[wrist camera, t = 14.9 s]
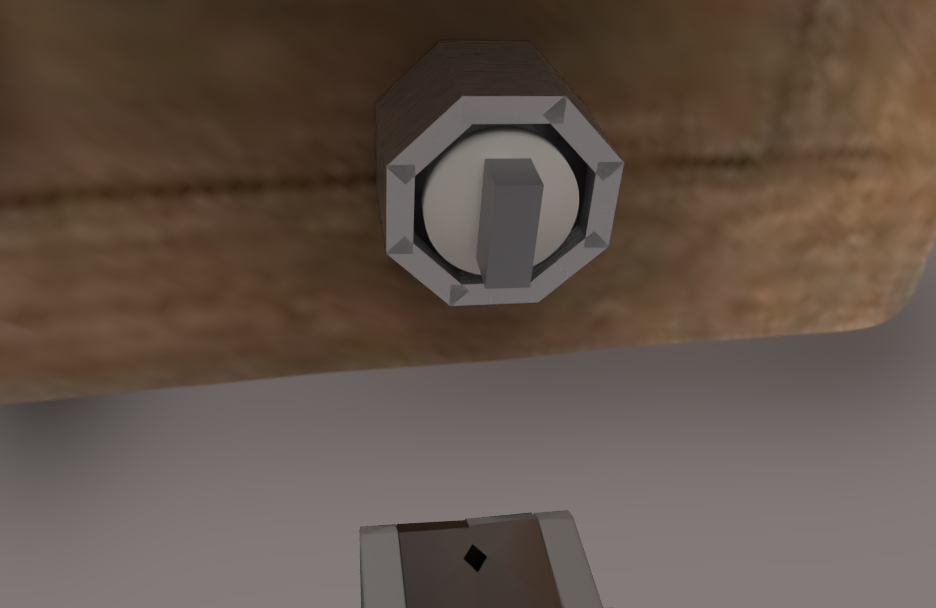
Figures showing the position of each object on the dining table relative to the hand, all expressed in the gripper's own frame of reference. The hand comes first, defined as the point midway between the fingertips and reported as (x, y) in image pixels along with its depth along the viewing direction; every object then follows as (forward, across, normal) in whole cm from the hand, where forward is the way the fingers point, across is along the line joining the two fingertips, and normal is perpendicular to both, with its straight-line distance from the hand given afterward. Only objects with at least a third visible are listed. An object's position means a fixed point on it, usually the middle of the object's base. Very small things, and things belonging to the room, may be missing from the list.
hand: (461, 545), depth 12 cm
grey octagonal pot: (+31, -6, +8) cm, 33 cm away
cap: (+25, -6, +8) cm, 27 cm away
